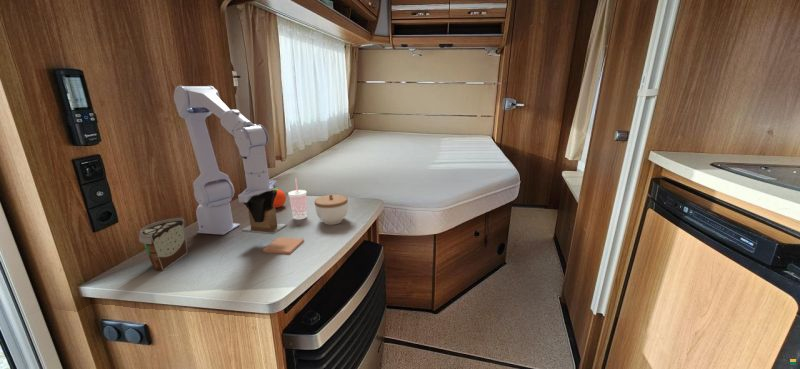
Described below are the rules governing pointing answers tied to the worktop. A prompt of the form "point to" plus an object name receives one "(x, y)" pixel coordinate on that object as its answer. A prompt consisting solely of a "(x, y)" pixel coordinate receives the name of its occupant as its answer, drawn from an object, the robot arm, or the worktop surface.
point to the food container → (164, 242)
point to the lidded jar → (331, 208)
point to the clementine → (279, 199)
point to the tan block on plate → (265, 223)
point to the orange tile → (283, 245)
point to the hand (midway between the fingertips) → (263, 219)
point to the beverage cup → (298, 203)
